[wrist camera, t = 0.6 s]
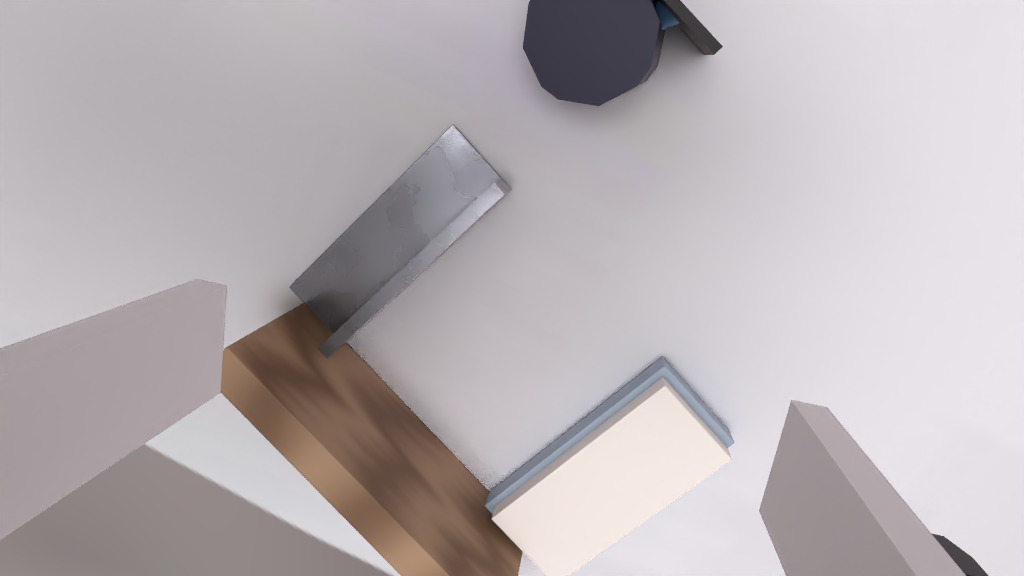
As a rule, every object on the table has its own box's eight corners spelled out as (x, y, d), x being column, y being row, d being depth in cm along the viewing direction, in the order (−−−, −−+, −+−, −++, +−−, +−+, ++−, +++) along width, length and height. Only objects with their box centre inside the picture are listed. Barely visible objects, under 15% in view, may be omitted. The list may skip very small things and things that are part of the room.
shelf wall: (286, 321, 41) (201, 372, 32) (306, 301, 40) (226, 347, 32) (503, 548, 43) (478, 654, 34) (526, 531, 42) (506, 634, 33)
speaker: (670, -59, 33) (677, -111, 23) (711, 51, 34) (734, 45, 25) (535, 14, 35) (491, -6, 26) (578, 114, 37) (551, 131, 27)
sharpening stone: (489, 492, 42) (480, 518, 39) (662, 356, 38) (667, 374, 35) (552, 558, 42) (548, 589, 39) (729, 430, 39) (739, 454, 36)
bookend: (292, 285, 40) (268, 297, 37) (454, 125, 37) (441, 124, 34) (346, 342, 41) (327, 358, 38) (511, 189, 37) (504, 194, 34)
